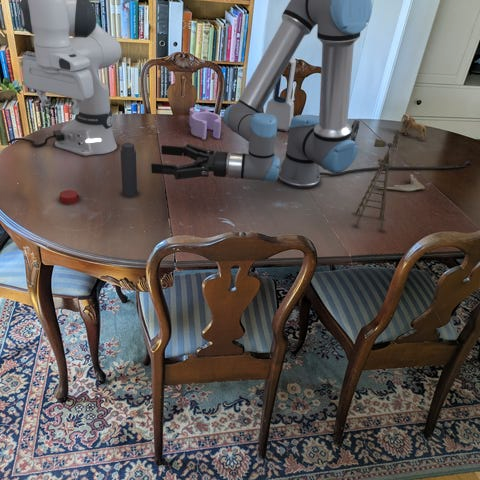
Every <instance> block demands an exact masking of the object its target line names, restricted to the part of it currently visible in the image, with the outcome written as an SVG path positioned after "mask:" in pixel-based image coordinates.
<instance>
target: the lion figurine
mask: <svg viewBox="0 0 480 480" xmlns="http://www.w3.org/2000/svg"><path fill="white" fill-rule="evenodd" d="M400 121H401V124H402V125H403V127H404V128H406V132H404V135H405V136H407V135H409V134H410V132H411V131H415V132H416V131H417V132H418V134H419V135H417V138H419V141H423V140H424V139H425V140H427V141H428V140H429V138H428V137H426V134H427V133H426V132H427V131H426V125H425V124H423V123H419V122H416V121H415V118H414V117H412V116H411V115H410V114H407V113H405V114H403V115H402V118H401V119H400ZM407 133H408V134H407ZM420 136H421V137H420ZM421 138H422V139H421Z"/></svg>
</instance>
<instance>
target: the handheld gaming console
mask: <svg viewBox="0 0 480 480" xmlns="http://www.w3.org/2000/svg"><path fill="white" fill-rule="evenodd" d="M360 123H361V122H360V120H358V119H354V120H353V122H352V124H351V128H352V132H351V140H352V141H354V142H355V143H356V141H357V136H358V133H359V129H360Z"/></svg>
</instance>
